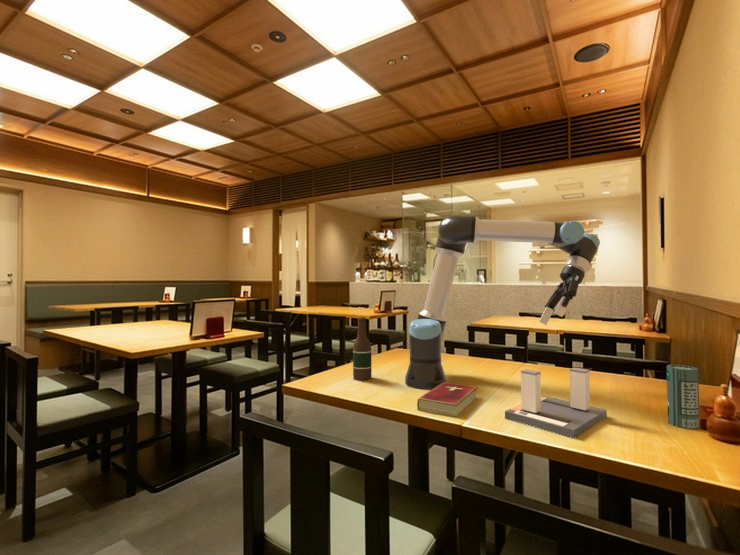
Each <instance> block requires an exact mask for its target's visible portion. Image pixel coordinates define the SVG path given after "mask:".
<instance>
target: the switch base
mask: <svg viewBox="0 0 740 555" xmlns="http://www.w3.org/2000/svg"><path fill="white" fill-rule="evenodd" d="M541 375H542V374H541V371H539V370H534V369H529V368H526V369H523V370H521V371H520V377H521V378H520V385H521V386H520V388H521V389H520V392H521V393H520V394H521V403H520V404H518V405H516V406H514V407H510V408H508V409H507V410H505V411H504V419H505V418H508V419H507V420H509V419H512V420H515V421H519V422H522V423H525V424H524V425H526V424H528V425H527V426H529V425H531V426H530V427H532V426H535V427H534V428H536V427H538V428H537V429H539V428H541V429H540V430H543V429H544V430H543V431H546V430H547V432H549V431H551V432H550V433H553V432H555V433H554V434H556V433H558V434H557V435H560V434H561V436H563V435H564V437H567V438H570V437H571V439H573V438H574V439H576V438H577V437H579V436H580V435H582V434H583V433H585V432H587V431H588V430H590V429H591V428H592V427H594V426H595V425H597V424H598V423H600V422H602V421H603V420H604V419H606V418H607V417H608V415H607V414H608V413H607V412H608V410H607V409H604V408H600V407H597V406H592V405H590V408H589V409H587V410H581V409H577V408H573V407H570V400H565V399H562V398H561V399H559V398H555V397H552V396H548V395H543V394H542V393H541V392H542V390H541V389H542V388H541V387H542V386H541V385H542V382H541V379H542V378H541ZM512 420H511V421H512ZM515 421H514V422H515ZM519 422H518V423H519ZM522 423H521V424H522ZM578 435H579V436H578ZM575 437H576V438H575Z"/></svg>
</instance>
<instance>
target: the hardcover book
mask: <svg viewBox="0 0 740 555" xmlns="http://www.w3.org/2000/svg"><path fill="white" fill-rule="evenodd" d="M477 389H478V386H474V385H466V384H459V383H452V382H447V381H446V382H443V383H442V384H440V385H438V386H437V387H435V388H433V389H430V390H429V391H427V392H426V393H424V394H423V395H422V396H420V397H418V399H417V404H416V406H417V407H416V408H417V411H424V412H429V413H433V414H439V413H440V414H441V415H444V414H447V415H446V416H450V415H452V416H451V417H455V416H456V415H457V414H458V413H459V414H460V413H461V412H462V411H463V410H464V409H465V408H466V407H467V406H469V405H470V404H471V403H472V402H473V401H474V400H475V399H476V398H477ZM471 401H472V402H471ZM470 402H471V403H470ZM469 403H470V404H469ZM468 404H469V405H468ZM440 414H439V415H440ZM459 414H458V415H459ZM458 415H457V416H458ZM457 416H456V417H457Z"/></svg>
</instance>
